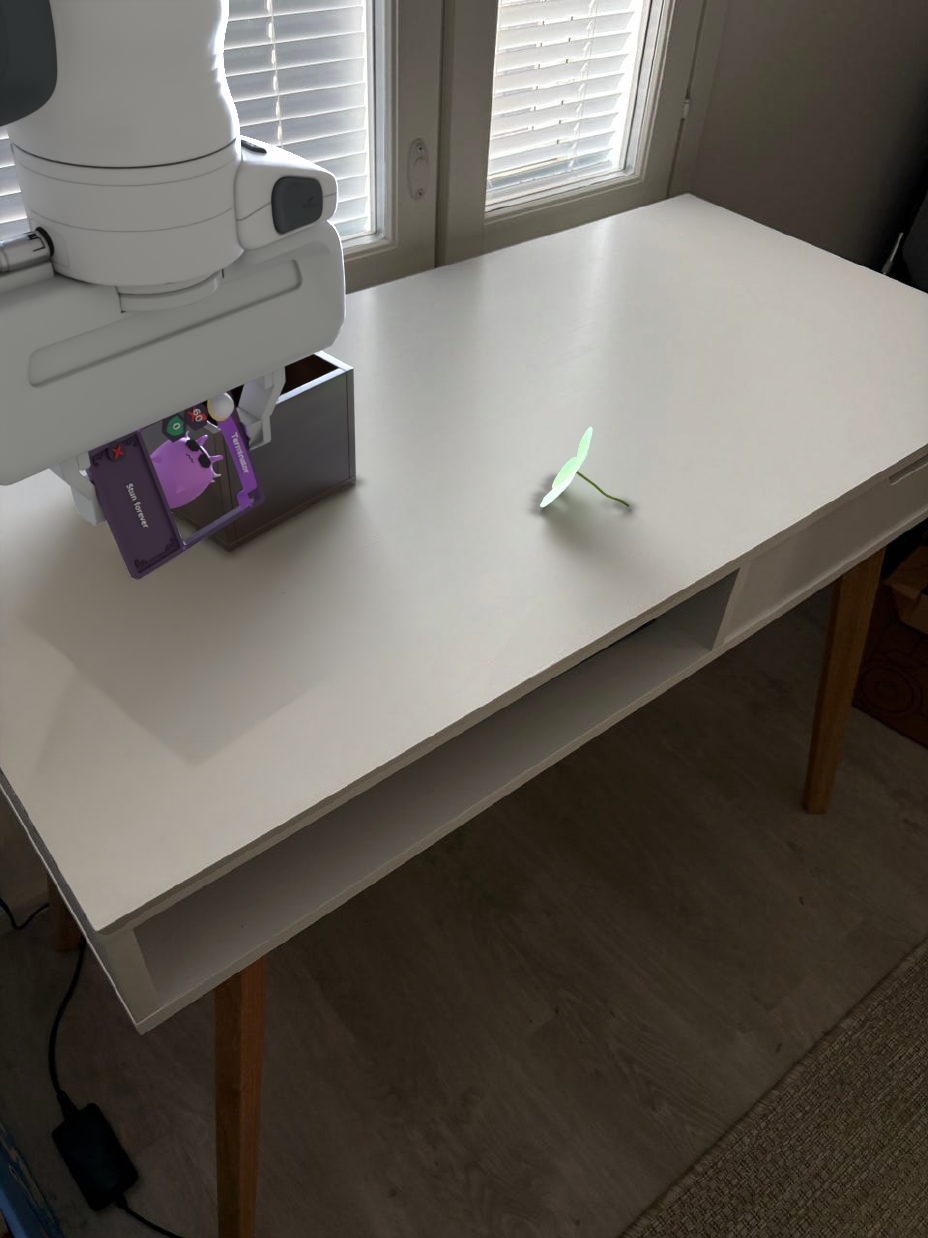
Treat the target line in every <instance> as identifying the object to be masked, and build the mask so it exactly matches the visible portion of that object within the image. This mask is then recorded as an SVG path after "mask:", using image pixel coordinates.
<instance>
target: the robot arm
mask: <svg viewBox="0 0 928 1238" xmlns="http://www.w3.org/2000/svg"><path fill="white" fill-rule="evenodd" d="M228 18H229V0H0V128H1V127H4V126H5V129H6V132H7V137H8V140H9V146H10V151H11V156H12V159H13V164H14V169H15V173H16V176H17V177H16V178H17V181H18V186H19V188H20V194H21V198H22V202H23V206H24V212H25V216H26V219H27V223H28V224H27V225H28V229H29V231H28V232H25V233H22V234H18V235H14V236H11V237H7V238H5V239H1V240H0V486H2V487H5V486H6V487H7V486H11V485H14V484H16V483H19V482H21V481H23V480H26V479H28V478H31V477H32V476H35V475H38V474H40V473H42V472H44V471H47V470H50V471H51V472H52V473H54V475H56V476H57V477H59V479H60V480H62V481H63V482H64V483H66V484H67V485H68V486H69V487H70V491H71V495H72V499H73V501H74V506H75V508H76V511H77V513H78V514H79V515H80V516H81V517H82V518H83V519H84V520H85V521H87V522H88V523H90V524H91V525H92V526H94V527H96V526H98V525H100V524H103V523H105V522H107V520H106V518H105V515H104V513H103V511H102V508H101V506H100V504H99V501H98V499H97V497H96V492H95V486H94V485H93V484H92V483H91V482H90V480H89V478H88V475H87V474H85V475H83V474H82V473H81V472H83V471H85V470H86V469H88V468H89V467H90V465H91V464H90V460H89V455H88V451H90V450H93V449H95V448H97V447H100V446H102V445H104V444H107V443H109V442H111V441H113V440H116V439H118V438H120V437H123V436H125V435H127V434H130V433H132V432H134V431H136V430H139V429H141V428H143V427H146V426H148V425H150V424H153V423H155V422H157V421H160V420H162V419H164V418H167V417H169V416H171V415H174V414H176V413H178V412H181V411H183V410H185V409H187V408H190V407H192V406H194V405H197V404H199V403H201V402H204V401H206V400H208V399H210V398H213V397H215V396H217V395H220V394H222V393H224V392H227V391H229V390H231V389H234V388H236V387H238V386H241V385H243V384H244V387H243V391H242V394H241V398H240V401H239V405H238V407H237V408H236V409H237V412H238V415H239V418H240V424H241V427H242V430H243V433H244V435H245V436H246V439H247V446H248V449H249V451H251V450H253V449H255V448H258V447H260V446H262V445H264V444H266V443H268V442H270V440H271V431H270V417H269V416H270V415H272V412H273V410H274V407H275V405H276V403H277V400H278V398H279V396H280V393H281V391H282V389H283V386H284V384H285V366H287V365H289V364H291V363H294V362H296V361H298V360H301V359H303V358H305V357H308V356H310V355H312V354H315V353H317V352H319V351H322V352H323V351H324V350H326V349H328V348H330V347H332V346H333V345H334V344H335V342H336V341H337V339H338V336H339V335H340V333H341V330H342V328H343V327H344V324H345V321H346V278H345V277H346V275H345V264H344V252H343V245H342V241H341V237H340V235H339V232H338V229H336V226H334V224H333V223H332V222H331V221H330V220H331V219H332V218H333V217H334V215H335V214H336V211H337V208H338V202H339V187H338V182H337V178H336V176H335V175H334V173H331V172H330V171H328V170H326V169H325V168H322V167H321V166H319V165H316V164H315V163H313V162H311V161H309V160H306V159H305V158H303V157H300V156H298V155H296V154H293V153H292V152H289V151H286V150H284V149H282V148H279V147H277V146H273V145H271V144H268V143H265V142H262V141H259V140H257V139H253V138H250V137H247V136H245V135H244V136H243V135H240V134H241V133H240V126H239V125H240V123H239V118H238V113H237V109H236V106H235V104H234V103H235V102H234V101H233V98H232V96H231V93H230V89H229V86H228V82H227V79H226V74H225V68H224V67H225V66H224V54H223V53H224V41H225V33H226V29H227V24H228Z"/></svg>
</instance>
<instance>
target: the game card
mask: <svg viewBox="0 0 928 1238" xmlns="http://www.w3.org/2000/svg"><path fill="white" fill-rule="evenodd" d="M207 408H208V409H207ZM207 408H206V407H205V406H204V405H203V404H202V403H199V404H197V405H194V406H192V407H190V408H187V409H185V411H184V417H183V416H181V415H180V414H179V413H176V414H174V415H171V416H169V417H167V418H164V419H162V420H163V421H162V434H163V435H165V436H166V437H167V438H168V439H169V440H168V441H166V442H165V443H163V444H162V445H161V446H160V447H159V448H158V449H156V450H155V451H154V452H153V453H152V454H151V456H150V455H149V453H148V450H147V447H146V445H145V442H144V440H143V437H142V434H141V431H142V430H143V429H145V428H147V427H149V426H151V425H153V424H155V423H157V422H159V421H157V422H155V423H153V424H150V425H148V426H146V427H143V428H141V429H139V430H136V431H134V432H132V433H130V434H127V435H125V436H123V437H120V438H118V439H116V440H113V441H111V442H109V443H107V444H104V445H102V446H100V447H97V448H95V449H93V450H90V451H88V455H89V460H90V464H91V465H90V467H89V468H88V469H86V470H84V471H85V473H86V475H88V478H89V480H90V482H91V483H92V484H93V485H94V486H95V492H96V497H97V499H98V501H99V504H100V506H101V508H102V511H103V513H104V515H105V518H106V520H107V521H106V523H107V524H108V527H109V530H110V532H111V534H112V536H113V539H114V541H115V543H116V546H117V548H118V551H119V553H120V556H121V558H122V561H123V563H124V565H125V568H126V570H127V572H128V575H129V577H130V579H134V580H137V581H138V580H139V581H140V580H142V579H143V578H145V577H146V576H148V575H150V574H152V573H153V572H154V571H156V570H158V569H159V568H161V567H163V566H164V565H165V564H167V563H169V562H170V561H172V560H174V559H175V558H177V557H178V556H180V555H182V554H183V553H185V552H186V551H188V550H190V549H191V548H193V547H195V546H196V545H198V544H199V543H201V542H203V541H204V540H205V539H207V538H208V537H209V536H210V535H212V534H214V533H215V532H217V531H218V530H220V529H221V528H223V527H225V526H226V525H228V524H229V523H231V522H233V521H234V520H236V519H237V518H239V517H241V516H242V515H244V514H245V513H247V512H249V511H250V510H252V509H253V508H255V507H257V506H258V505H260V504H261V503H263V502H264V501H265V499H266V497H265V493H264V490H263V487H262V484H261V481H260V478H259V475H258V472H257V469H256V466H255V463H254V460H253V457H252V454H251V451H249V449H248V446H247V439H246V436H245V435H244V433H243V430H242V427H241V424H240V418H239V415H238V412H237V409H236V406H235V403H234V400H233V397H232V394H231V391H230V390H229V391H227V392H224V393H222V394H220V395H217V396H215V397H213V398H210V399H208V402H207ZM208 412H209V414H210V416H211V417H212V418H213V419H215V420H216V421H217V423H218V425H219V427H220V429H221V431H222V434H223V436H224V438H225V440H226V442H227V444H228V447H229V449H230V452H231V455H232V457H233V460H234V463H235V466H236V469H237V471H238V474H239V477H240V481H241V484H242V487H243V491H241V492H240V493H238V494H237V499H238V503H239V506H238V507H237V508H235V509H233V510H232V511H230V512H229V513H227V514H225V515H224V516H222V517H220V518H219V519H217V520H216V521H214V522H212V523H211V524H209V525H207V526H206V527H204V528H203V529H201V530H199V531H198V530H197V531H196V532H195V533H193V534H191V535H190V536H188V537H186V538H184V539H183V538H182V535H181V533H180V530H179V528H178V525H177V523H176V520H175V517H174V515H173V513H172V512H171V509H172V508H177V507H180V506H182V505H185V504H187V503H189V502H190V501H192V500H194V499H195V498H196V497H198V496H199V495H200V494H201V493H202V492H203V491H204V490H205V489H206V487H207V486H208V484H209V483H211V482H215V481H214V480H213V479H212V478H214V477H219V476H221V475H220V474H215V473H214V471H213V469H212V464H213V463H214V462H215V461H218V460H222V459H223V456H221V455H219V456H212V457H210V456H209V455H208V453H207V452H206V451H205V449H204V448H203V447H202V445H203V443H204V442H205V440H206V439H207V437H208V436H207V435H204V436H202V437H201V438H199V439H198V440H197V441H195V440H194V439H189V438H188V432H189V431H187V432H186V425H188V426H189V427H190V428H191V429H192V430H194V431H196V430H198V429H200V428H202V427H204V426H206V425H207V416H208ZM160 421H161V420H160ZM250 491H253V494H254V497H253V498H251V499H250V500H249V497H248V494H247V493H249V492H250Z"/></svg>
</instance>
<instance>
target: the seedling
mask: <svg viewBox="0 0 928 1238" xmlns="http://www.w3.org/2000/svg"><path fill="white" fill-rule="evenodd" d="M592 435H593V427H592V426H589V427H588V428H587V429H586V431H585V432H584V433H583V436H582V437H581V439H580V442H579V445H578V449H577V454H576V456H573V457H571V458H570V459H569V460H568V461H567V462H566V463H565V464H564V465H563V466H562V467H561V469H560V471H559V472H558V473H557V475H556V477H555V478H554V480H553V483H552V485H551V490H550V491H549V492H548V493H547V494H546V495H544V497H543V499H542V500H541V503H540V504H539V507H540V508H544V507H546V506H548V505H549V504H551V503H552V502H553V501H554V500H556V499H557V498H558V497H559V496H560V495H561V494H562V493H563V491H565V490H566V488H567V487H568V486H570V484H571V482H572V481H573V479H574V477H575V475H576V474H577V475H578V476H579V477H580V478H582V479H583V480H585V481H586V482H587V483H589V484H590V485H592V486H593V487H594V488H595V489H596V490H598V492H599V493H600V494H601V495H603V496H604V497H606V498H608V499H611V500H614V501H617V502H619V503H621V504H623V505H625V506H626V507H627V508H630V504H629V503H627V502H626V501H624V500H623V499H621V498H618V497H615V496H612V495H610V494H608V493H606V492H605V491H603V490H602V488H600V487H599V485H597V484H596V483H595V482H593V481H592V480H591V479H589V478H588V477H587V476H586V475H584V474H582V473H581V472H580V471H578V470H579V469H580V467H581V466H582V464H583V463H584V461H585V459H586V458H587V457H588V455H589V454H590V452H591V451H592V449H593V448H594V446H595V445H596V444H595V443H594V445H593V446H592V448H591V449H590V450H589V448H590V444H591V440H592V439H591V438H592Z"/></svg>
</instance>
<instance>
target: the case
mask: <svg viewBox="0 0 928 1238" xmlns="http://www.w3.org/2000/svg"><path fill="white" fill-rule="evenodd" d="M354 369H355V368H354V367H353V366H350V365H348V364H346V363H344V362H342V361H340V360H339V359H337V358H335V357H333V356H331V355H330V354H327V353H325V352H324V351H323V350H322V351H319V352H317V353H315V354H312V355H310V356H308V357H305V358H303V359H301V360H298V361H296V362H294V363H291V364H289V365H287V366H285V384H284V386H283V389H282V391H281V393H280V396H279V398H278V400H277V403H276V405H275V407H274V410H273V412H272V415H270V416H269V417H270V431H271V440H270V442H268V443H266V444H264V445H262V446H260V447H258V448H255V449H253V450H251V454H252V457H253V460H254V463H255V466H256V469H257V472H258V475H259V478H260V481H261V484H262V487H263V490H264V493H265V497H266V499H265V501H264V502H263V503H261V504H260V505H258V506H257V507H255V508H253V509H252V510H250V511H249V512H247V513H245V514H244V515H242V516H241V517H239V518H237V519H236V520H234V521H233V522H231V523H229V524H228V525H226V526H225V527H223V528H221V529H220V530H218V531H217V532H215V533H214V534H212V535H210V536H209V537H207V538H208V539H209V540H211V541H212V542H213V543H215V544H216V545H217V546H219V547H220V548H222V549H223V550H224V551H226V552H227V553H230V554H231V553H232V552H235V550H237V549H239V548H241V547H242V546H244V545H247V544H248V543H250V542H252V541H254V540H255V539H257V538H259V537H260V536H262V535H264V534H266V533H267V532H269V531H271V530H273V529H275V528H276V527H278V526H280V525H283V524H284V523H285V522H287V521H289V520H291V519H292V518H294V517H296V516H297V515H299V514H301V513H303V512H305V511H307V510H309V509H310V508H312V507H314V506H316V505H318V504H319V503H321V502H323V501H325V500H327V499H328V498H330V497H332V496H333V495H335V494H337V493H339V492H341V491H343V490H344V489H346V488H347V487H350V486H351V485H353V484H355V483H356V482H357V475H356V474H357V465H356V463H357V459H356V457H357V456H356V415H355V413H356V412H355V373H354V371H355V370H354ZM243 387H244V384H243V385H241V386H238V387H236V388H234V389H231V390H230V391H231V394H232V397H233V400H234V403H235V406H236V408H237V407H238V405H239V401H240V398H241V394H242V391H243ZM207 402H208V400H206V401H204V402H201V403H202V404H203V405H204V406H205V407H206V408H207ZM207 409H208V408H207ZM184 411H185V410H183V411H181V412H178V413H179V414H180V415H181V416H183V417H184ZM162 421H163V420H161V421H159V422H157V423H155V424H153V425H151V426H149V427H147V428H145V429H143V430H142V431H141V434H142V437H143V440H144V442H145V445H146V447H147V450H148V453H149V455H150V456H151V454H152V453H153V452H154V451H155V450H156V449H158V448H159V447H160V446H161V445H162V444H163V443H165V442H166V441H168V440H169V439H168V438H167V437H166V436H165V435H163V434H162ZM187 431H189V432H188V438H189V439H194V440H195V441H197V440H198V439H199V438H201V437H202V436H204V435H207V436H208V437H207V439H206V440H205V442H204V443H203V445H202V447H203V448H204V449H205V451H206V452H207V453H208V455H209V456H210V457H212V456H219V455H221V456H223V459H222V460H218V461H215V462H214V463H213V464H212V469H213V471H214V473H215V474H220V475H221V476H219V477H214V478H212V479H213V480H214V481H215V482H211V483H209V484H208V486H207V487H206V489H205V490H204V491H203V492H202V493H201V494H200V495H199V496H198V497H196V498H195V499H194V500H192V501H190V502H189V503H187V504H185V505H182V506H180V507H177V508H172V509H171V512H172V514H174V515H175V516H177V517H178V518H179V519H181V520H182V521H183V522H185V523H187V524H188V525H189V526H191V528H193V529H195V530H196V531H197V532H198V531H199V530H201V529H203V528H204V527H206V526H207V525H209V524H211V523H212V522H214V521H216V520H217V519H219V518H220V517H222V516H224V515H225V514H227V513H229V512H230V511H232V510H233V509H235V508H237V507H238V506H239V503H238V499H237V494H238V493H240V492H241V491H243V487H242V484H241V481H240V477H239V474H238V471H237V469H236V466H235V463H234V460H233V457H232V455H231V452H230V449H229V447H228V444H227V442H226V440H225V438H224V436H223V434H222V431H221V429H220V427H219V425H218V423H217V421H216V420H215V419H213V418H212V417H211V416H210V414H209V412H208V416H207V425H206V426H204V427H202V428H200V429H198V430H196V431H194V430H192V429H191V428H190V427H189V426H188V425H186V432H187ZM247 494H248V497H249V500H250V499H251V498H253V497H254V494H253V491H250V492H249V493H247Z"/></svg>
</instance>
